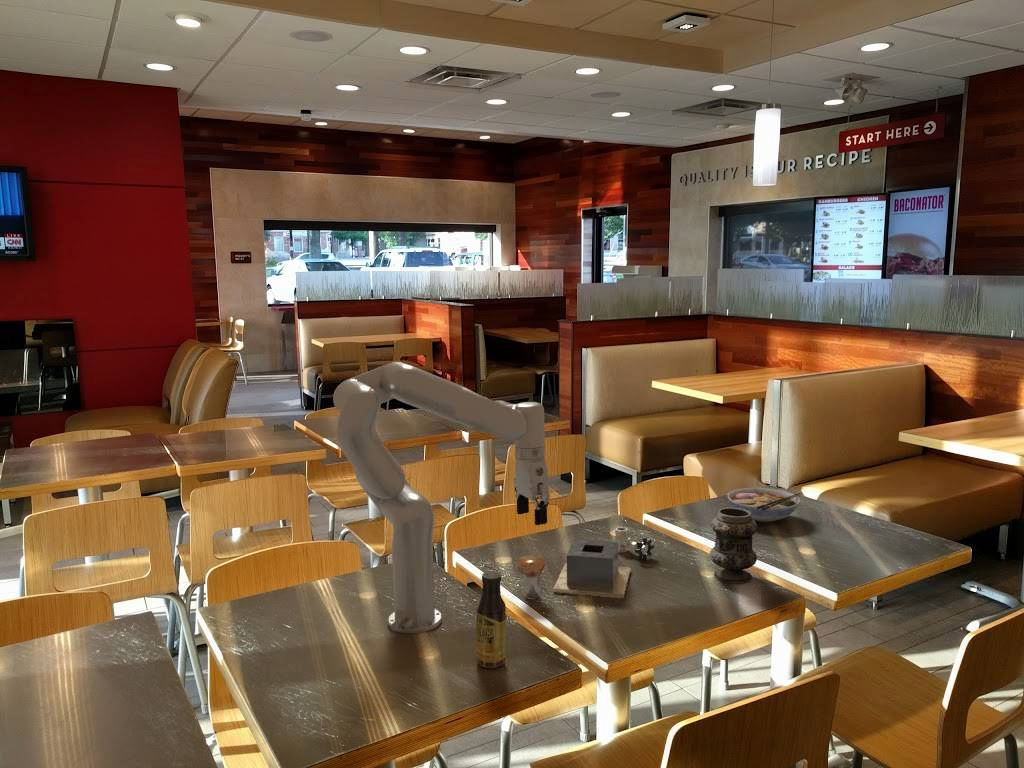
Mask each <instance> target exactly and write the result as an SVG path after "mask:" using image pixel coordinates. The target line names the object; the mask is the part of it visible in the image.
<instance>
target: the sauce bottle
mask: <svg viewBox="0 0 1024 768" xmlns="http://www.w3.org/2000/svg"><path fill="white" fill-rule="evenodd" d="M501 581H502V574H501V573H500V572H498V571H494V570H492V571H490V570H489V571H485V572H484V573H482V575H481V582H482V592H481V593H482V594H481V595H480V599H479V603H478V606H477V609H476V616H475V617H476V618H475V619H476V623H475V624H476V626H475V629H476V631H475V635H476V637H475V638H476V640H475V641H476V643H475V644H476V645H475V646H476V647H475V648H476V649H475V655H476V663H477V664H478V665H479V666H480V667H482V668H484V669H485V668H486V669H491V670H492V669H496V668H500V667H501V666H503V664H505V661H506V651H507V650H506V647H507V646H506V645H507V642H506V640H507V636H506V635H507V633H506V632H507V631H506V630H507V616H506V615H507V614H506V611H507V609H506V602H505V601H504V599H503V597H502V595H501V593H502V592H501Z"/></svg>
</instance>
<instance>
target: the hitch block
mask: <svg viewBox="0 0 1024 768" xmlns="http://www.w3.org/2000/svg"><path fill="white" fill-rule="evenodd" d="M629 575H631V567H630V566H629V567H627V566H619V552H618V542H615V541H602V540H588V539H586V540H583V539H573V542H572V543H571V546H570V547H569V550H568V552H567V553H566V562H565V563H564V565H563V567H562V569H561V572H560V574H559V576H558V578H557V580H556V582H555V584H554V587H553V588H552V589H553V590H552V591H553V592H560V593H559V594H561V593H569V594H568V595H573V594H582V595H581V596H585V595H591V596H590V597H597V596H600V597H599V598H609V597H610V598H609V599H621V598H624V599H625V596H624V595H625V594H626V592H625V591H627V588H626V587H628V584H629V580H628V579H630V576H629ZM627 583H628V584H627Z"/></svg>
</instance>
